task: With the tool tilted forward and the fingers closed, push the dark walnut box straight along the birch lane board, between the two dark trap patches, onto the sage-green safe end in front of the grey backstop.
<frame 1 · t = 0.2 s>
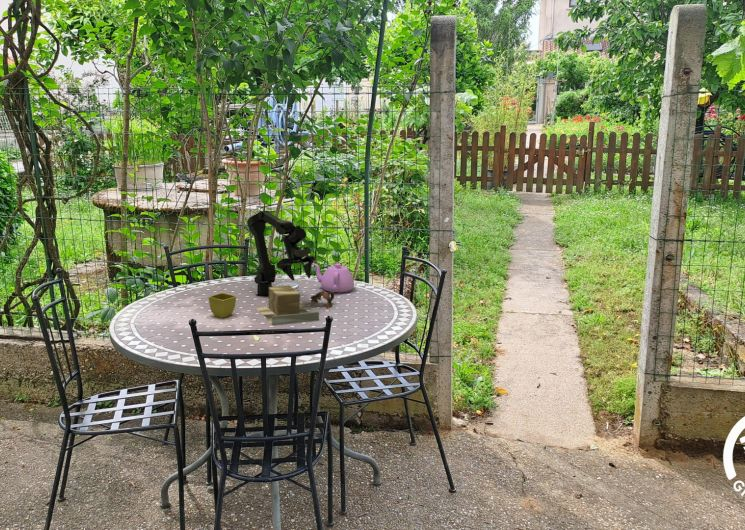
hand: (301, 279, 298), 15 cm above the table, tool tilted 30°, fingers open, 9 cm apart
flower pot: (222, 316, 288), on the table
lane board: (286, 314, 294), on the table
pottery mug: (323, 305, 310), on the table
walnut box: (283, 311, 296), resting on lane board
teapot: (332, 289, 338), on the table
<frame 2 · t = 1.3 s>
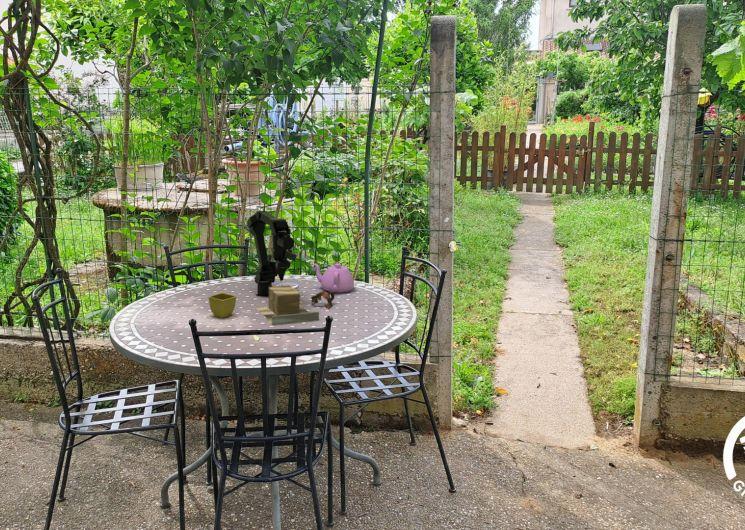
hand: (278, 278, 308), 12 cm above the table, tool pointing down, fingers open, 9 cm apart
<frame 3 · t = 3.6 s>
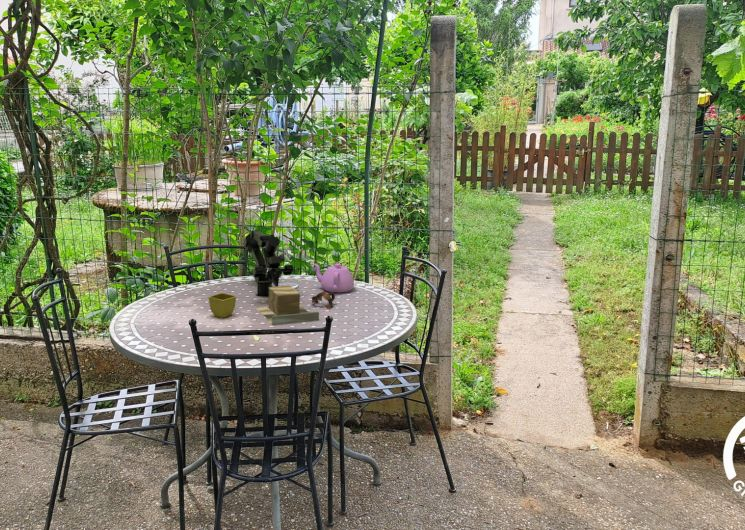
hand: (277, 286, 303), 10 cm above the table, tool tilted 45°, fingers closed
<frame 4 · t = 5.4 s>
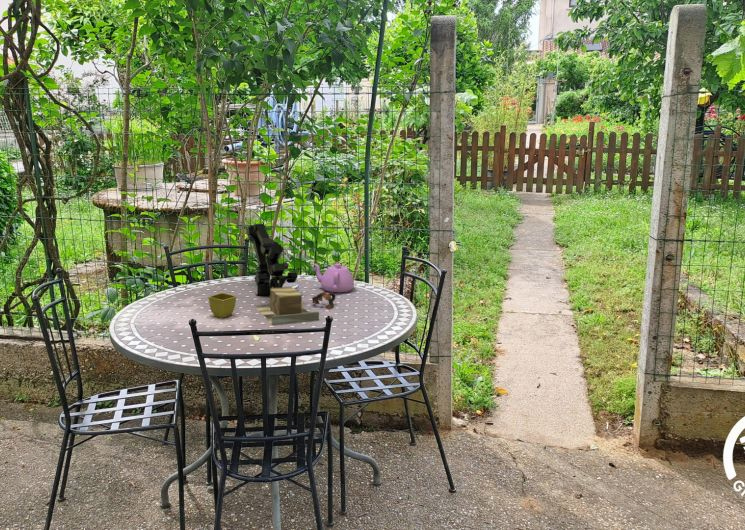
hand: (280, 294, 299), 7 cm above the table, tool tilted 45°, fingers closed, pressing on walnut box
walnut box: (285, 313, 294), point 1 cm above the table, touching gripper
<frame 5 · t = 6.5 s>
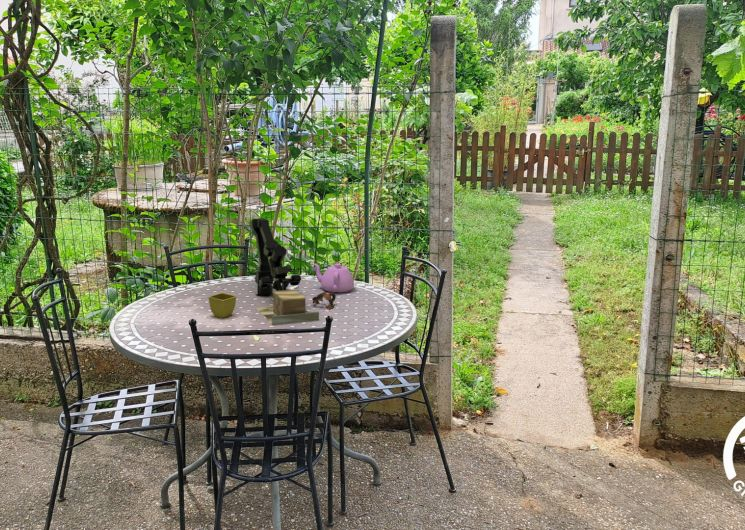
hand: (284, 297, 295), 7 cm above the table, tool tilted 45°, fingers closed
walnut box: (289, 316, 290), point 1 cm above the table, touching lane board
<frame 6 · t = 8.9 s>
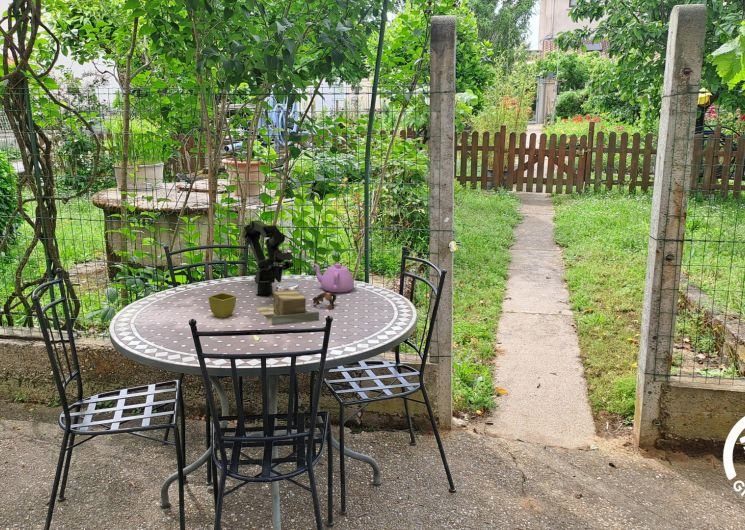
hand: (279, 282, 305), 11 cm above the table, tool tilted 30°, fingers closed
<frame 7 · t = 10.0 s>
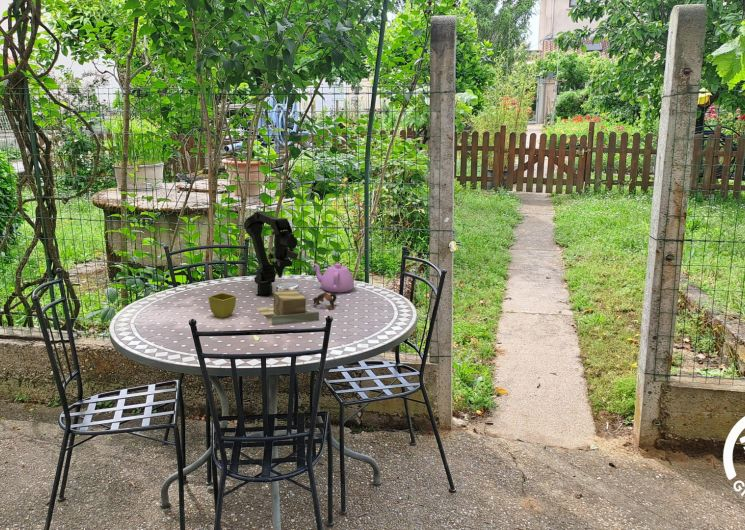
hand: (280, 277, 310), 12 cm above the table, tool pointing down, fingers closed
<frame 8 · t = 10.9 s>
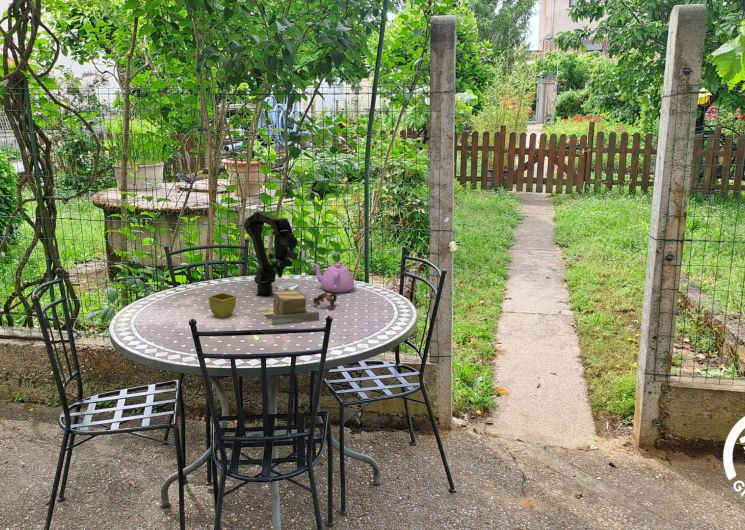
hand: (280, 277, 310), 12 cm above the table, tool pointing down, fingers closed
at the end: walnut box inside the target area (0.3 cm from its centre), point 0.5 cm above the table; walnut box tilted 0°; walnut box moved 7.7 cm from its start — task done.
